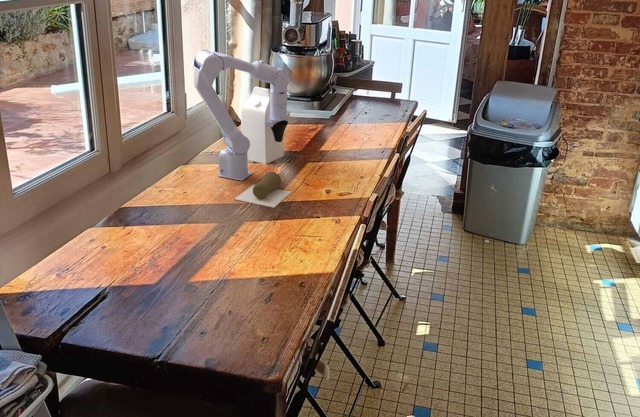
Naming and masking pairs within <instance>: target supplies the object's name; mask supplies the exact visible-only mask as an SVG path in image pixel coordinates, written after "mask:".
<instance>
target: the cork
mask: <svg viewBox="0 0 640 417" xmlns="http://www.w3.org/2000/svg"><path fill="white" fill-rule="evenodd" d="M281 184H282V178H281V176H280V175H279V174H278V173H276V172H275V171H269V172H267V173H265V175H264V177H263V178H262V179H261V180H260V181H259V182H257V183H255V184H253V185H254V187H253V194H254V196H255V197H257V198H259V199H263V198H265V197H267V195H268V193H269V192H271V191H273V190H275V189H279V188H280V186H281Z"/></svg>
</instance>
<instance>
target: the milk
mask: <svg viewBox="0 0 640 417" xmlns="http://www.w3.org/2000/svg"><path fill="white" fill-rule="evenodd" d="M269 116H270V88H264V87H260V86H254V87H253V89H252V91H251V95H250V96H249V97H248V99H247V100H246V101H245V103H244V104H243V107H242V109H241V115H240V117H241V119H240V125H241V126H240V131H241V133H242V134H243V135H244V136H245V137H247V138H248V139H249V141H250V147H249V149H248V151H247V155H248V161H253V162H254V163H255V162H256V163H259V164H264V165H267V164H269V163H271V162H273V161H276V160H278V159H280V158H282V157H284V156H285V150H284V138H283V139H282V141H281V142H276V141H275V139H274V135H273V132H272V129H271V127H267V121H268V119H269Z"/></svg>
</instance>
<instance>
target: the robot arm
mask: <svg viewBox="0 0 640 417" xmlns="http://www.w3.org/2000/svg"><path fill="white" fill-rule="evenodd" d="M192 68H193V84H194V87H195V89H196V91H197V93H198V94H199V96H200V98H201V99H202V101H203V102H204V104H205V105H206V107H207V109H208V111H209V112H210V113H211V115H212V117H213V118H214V120H215V122H216V123H217V125H218V127H219V128H220V132H221V134H222V137H223V138H222V139H223V143H224V144H225V145H226V148H223V149H222V150H221V151H220V152H219V155H218V172H219V173H218V175H217V177H220V178H225V179H231V180H237V181H241V182H243V181H244V180H246V179H247V178H248V177H250V176H251V175H252V174H253V171H250V170H249V169H248V168H249V165H248V163H249V162H248V161H249V160H248V155H247V151H248V149H249V147H250V141H249V139H248V138H247V137H245V136H244V135H243V134H242V133H241V129H239V127H238V126H237V125H236V124H235V122H234V120H233V119H232V117H231V115H230V112H228V110H227V109H226V107H225V104H223V102H222V100H221V98H220V96H219V95H218V93H217V92H216V90H215V88H214V86H213V84H214V82H215V80H216V79H217V78H218V75H219V74H220V73H221V72H222V71H227V70H228V69H230V68H231V69H233V70H236V71H237V70H238V71H240V72H245V73H248V74H249V76H250V77H251V78H252V79H254V80H258V81H261V82H263V83H264V82H265V83H267V84H270V86H269V87H270V88H269V90H270V116H269V119H268V121H267V127H271V129H272V132H273V135H274V139H275V141H276V142H281V141H282V139H283V140H284V134H285V131H286V128H287V126H288V124H289V120H290V119H291V113H290V112H291V111H290V110H288V85H290V82H291V77H290V74H289V73H288V71H286V70H285V69H283V68H282V67H281V68H280V67H278V66H277V65H275V64H272V65H271V64H267V63H265V61H264V60H262V59H259V61H258V60H254V61H252V62H248V61H246V60H243V59H240V58H236V57H234V56H232V55H229V54H226V53H222V52H218V51H210V50H208V49H201V50H199V51H197V53H196V54H195V56H194V59H193V61H192Z"/></svg>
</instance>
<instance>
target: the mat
mask: <svg viewBox="0 0 640 417" xmlns="http://www.w3.org/2000/svg"><path fill="white" fill-rule="evenodd" d="M254 185H255V184H252V185H251V186H250V187H248V188H246V190H244V191H243V192H241V193H240V194H239V195H238V196H236V197H235V198H234V199H233V200H234V201H237V202H242V203H249V204H253V205H258V206H262V207H268V208H273V209H274V208H276V207H277V206H278V205H279V204H280V203H282V201H284V200H285V199H286V198H287V197H288V196H289V195H291V194H292V191H289V190H283V189H279V188H277V189H275V190H273V191H271V192H269V193H268V195H267V197H265V198H263V199H259V198H257V197H255V196H254V194H253V187H254Z"/></svg>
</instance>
